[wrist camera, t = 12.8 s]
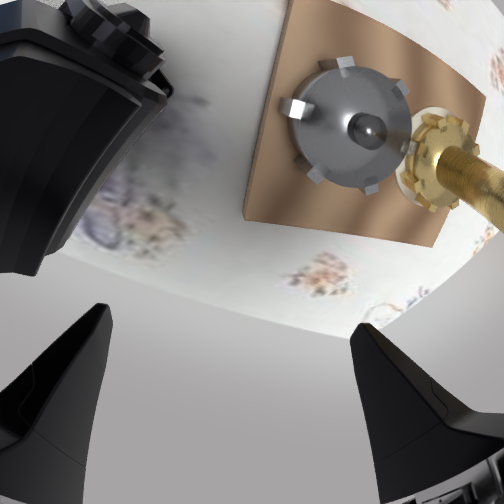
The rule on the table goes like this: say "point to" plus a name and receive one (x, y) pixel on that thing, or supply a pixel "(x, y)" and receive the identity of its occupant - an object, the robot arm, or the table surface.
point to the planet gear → (453, 170)
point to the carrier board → (326, 192)
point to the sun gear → (349, 124)
